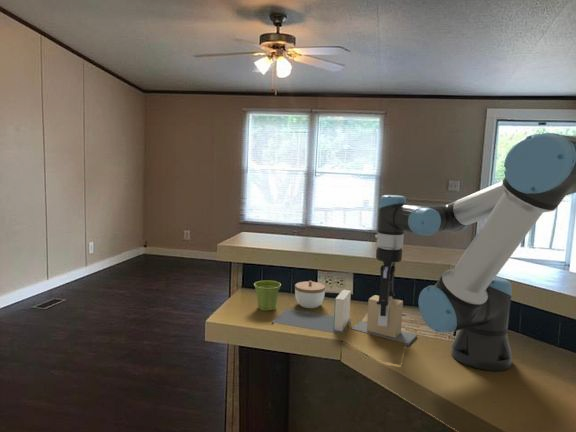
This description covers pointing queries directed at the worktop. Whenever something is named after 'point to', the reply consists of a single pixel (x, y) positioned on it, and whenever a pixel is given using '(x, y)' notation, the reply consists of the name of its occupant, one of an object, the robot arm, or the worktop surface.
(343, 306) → the tile
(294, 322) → the mat
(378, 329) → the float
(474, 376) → the worktop surface
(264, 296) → the plant pot
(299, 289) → the lidded jar
